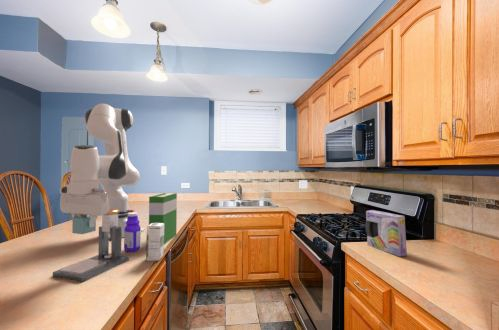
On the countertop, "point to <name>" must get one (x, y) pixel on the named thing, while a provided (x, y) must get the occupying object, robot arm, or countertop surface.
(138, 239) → the bottle
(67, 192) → the robot arm
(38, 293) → the countertop surface
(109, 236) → the press ram
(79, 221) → the block
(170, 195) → the green striped box
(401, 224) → the cake pan box
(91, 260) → the base
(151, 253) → the syrup box
